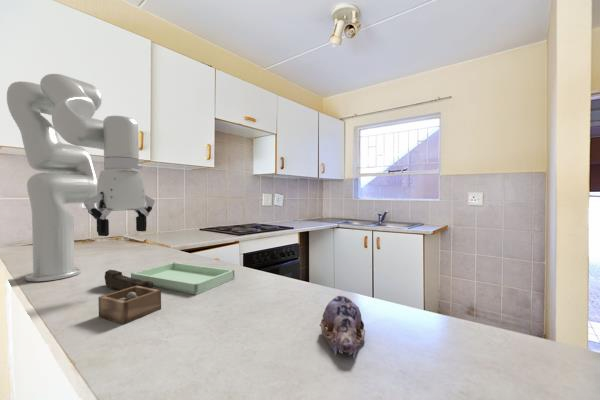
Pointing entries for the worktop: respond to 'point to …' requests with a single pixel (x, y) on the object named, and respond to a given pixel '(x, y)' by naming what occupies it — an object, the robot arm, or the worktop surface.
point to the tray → (185, 277)
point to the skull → (342, 325)
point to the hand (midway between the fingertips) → (123, 233)
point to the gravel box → (129, 304)
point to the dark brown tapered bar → (123, 281)
